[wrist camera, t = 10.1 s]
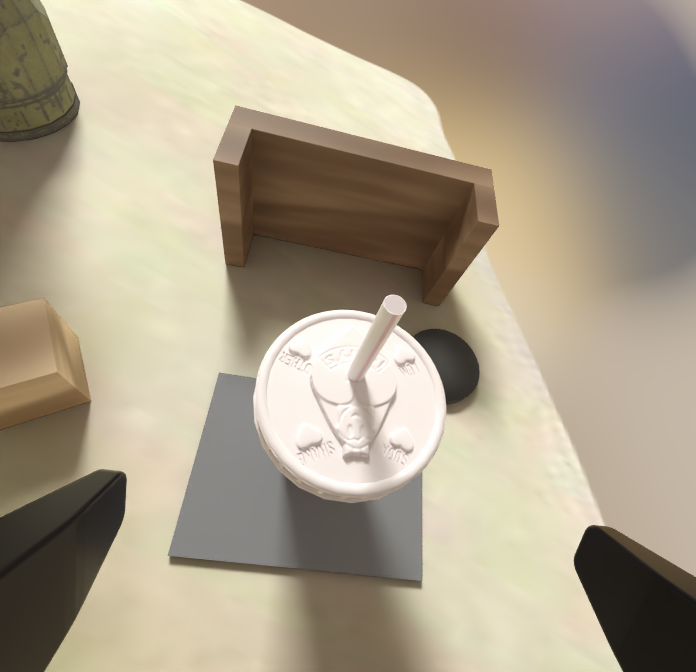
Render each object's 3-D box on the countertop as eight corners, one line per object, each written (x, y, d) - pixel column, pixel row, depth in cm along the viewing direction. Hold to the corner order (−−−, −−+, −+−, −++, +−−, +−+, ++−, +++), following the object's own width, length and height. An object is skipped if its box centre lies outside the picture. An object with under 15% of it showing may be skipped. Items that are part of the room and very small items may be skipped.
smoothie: (371, 398, 23) (498, 235, 11) (377, 518, 20) (562, 478, 8) (260, 393, 22) (263, 202, 10) (249, 519, 19) (229, 475, 6)
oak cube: (91, 401, 20) (57, 371, 17) (-2, 431, 19) (-61, 405, 15) (78, 337, 21) (43, 297, 18) (-10, 360, 20) (-66, 321, 17)
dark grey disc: (483, 402, 24) (488, 399, 24) (409, 405, 23) (412, 402, 23) (464, 333, 27) (468, 329, 26) (396, 332, 26) (399, 328, 25)
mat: (419, 580, 19) (421, 581, 19) (169, 555, 18) (167, 555, 17) (419, 406, 23) (421, 405, 23) (219, 374, 22) (219, 372, 22)
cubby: (438, 305, 27) (499, 226, 21) (225, 263, 26) (213, 159, 19) (437, 256, 30) (491, 169, 23) (241, 214, 28) (235, 105, 21)
